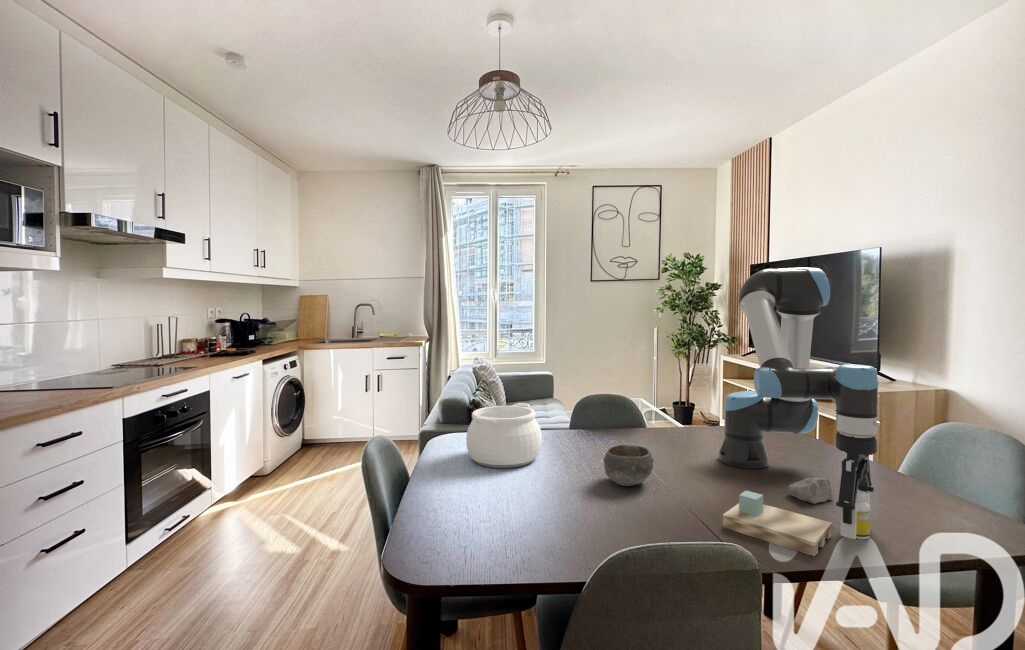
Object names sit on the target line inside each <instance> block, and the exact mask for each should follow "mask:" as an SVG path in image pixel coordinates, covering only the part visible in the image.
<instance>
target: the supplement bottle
mask: <svg viewBox="0 0 1025 650" xmlns="http://www.w3.org/2000/svg"><path fill="white" fill-rule="evenodd" d="M865 501H866V493H865V492H863V491H860V490H859V489H858V491H857V497H856V503H855V509H856V538H857V540H867V539H870V538H871V505H870V503H869V504H868V503H867V502H865ZM845 502H846V501H845ZM847 503H849V502H847Z"/></svg>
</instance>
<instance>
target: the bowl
mask: <svg viewBox="0 0 1025 650" xmlns="http://www.w3.org/2000/svg"><path fill="white" fill-rule="evenodd" d="M652 456H653V455H652V453H651V451H650V450H649V449H648V448H647V447H645V446H640V445H629V444H619V445H615V446H611V447H610V448H609V449H608V450H607V451H606V453H605V456H604V458H603V463H604V465H603V468H604V472H605V474H606V476H607V478H609V479H610V480H611V481H612V482H614V483H615V484H617V485H618V486H619V485H620V486H623V487H632V486H637V485H640V484H642V483H643V482H644V481H646V480H647V479H648V478H649V477H650V476H651V474H652V472H653V469H654V460H655V459H654V458H653V457H652Z"/></svg>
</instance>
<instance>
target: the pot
mask: <svg viewBox="0 0 1025 650" xmlns="http://www.w3.org/2000/svg"><path fill="white" fill-rule="evenodd" d="M536 414H537V413H536V411H535V410H534V409H533V408H531V404H529V403H526V402H517V403H514V404H512V405H493V406H486V407H481V408H477V409H475V410H473V411H472V414H471V419H472V420H471V422H470V424H469V426H468V428H467V432H466V448H467V452H468V454H469V456H470V458H471V459H472V460H473V462H474V463H476V464H478V465H480V466H483V467H486V468H492V467H493V469H511V468H519V467H523V466H526V465H529V464H531V463H532V462H534V461H535V460H536V459H537V458H538V456H540V455H539V454H540V453H541V450H542V445H543V444H542V443H543V441H542V439H543V436H542V430H541V427H540V424H539V422H538V420H536V419H537V418H536V416H537V415H536Z"/></svg>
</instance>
